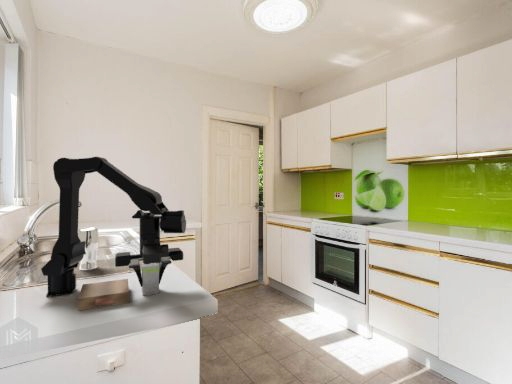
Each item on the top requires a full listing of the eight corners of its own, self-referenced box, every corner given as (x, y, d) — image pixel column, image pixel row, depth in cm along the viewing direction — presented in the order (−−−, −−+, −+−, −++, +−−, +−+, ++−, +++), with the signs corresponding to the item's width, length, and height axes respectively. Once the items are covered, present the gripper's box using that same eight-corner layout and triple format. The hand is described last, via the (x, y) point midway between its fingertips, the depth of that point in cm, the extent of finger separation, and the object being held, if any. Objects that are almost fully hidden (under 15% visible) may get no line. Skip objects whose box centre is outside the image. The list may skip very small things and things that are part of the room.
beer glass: (79, 266, 113) (79, 228, 113) (99, 265, 116) (99, 227, 116) (76, 271, 107) (75, 231, 107) (97, 269, 110) (97, 230, 109)
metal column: (142, 295, 84) (142, 268, 84) (141, 290, 88) (141, 264, 88) (159, 293, 86) (158, 266, 86) (157, 288, 90) (157, 262, 90)
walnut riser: (77, 311, 74) (77, 299, 74) (82, 294, 85) (82, 284, 85) (129, 302, 79) (129, 292, 79) (127, 288, 90) (127, 278, 90)
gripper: (114, 240, 75) (115, 300, 76) (187, 235, 83) (187, 289, 84) (115, 233, 86) (115, 286, 86) (179, 229, 94) (179, 278, 94)
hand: (150, 285), depth 87 cm, fingers closed on metal column, 4 cm apart
